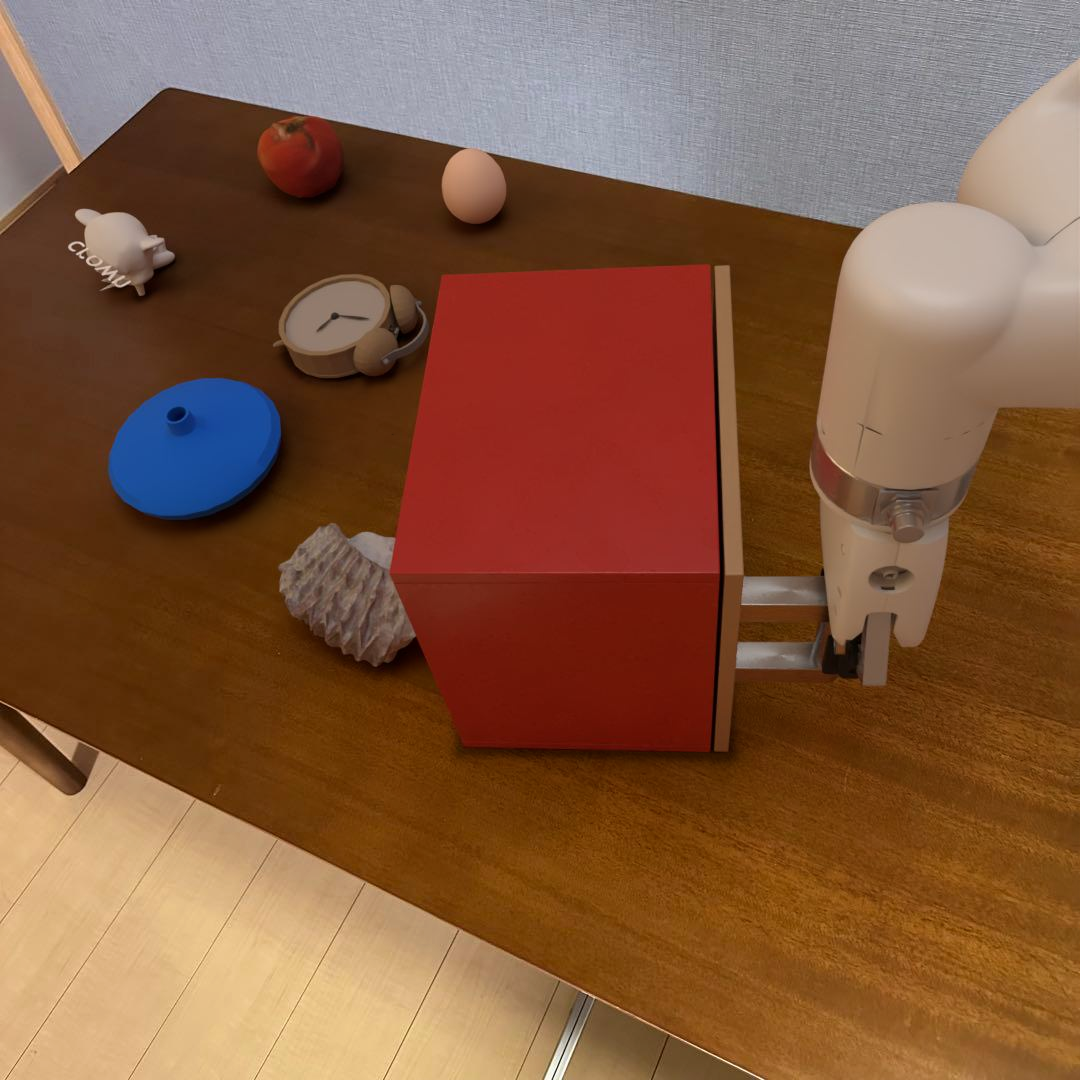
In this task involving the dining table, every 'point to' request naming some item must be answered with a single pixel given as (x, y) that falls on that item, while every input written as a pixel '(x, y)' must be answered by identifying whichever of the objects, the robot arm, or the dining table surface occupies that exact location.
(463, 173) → the egg
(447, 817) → the dining table surface
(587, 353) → the box
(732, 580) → the door
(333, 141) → the tomato
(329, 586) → the seashell
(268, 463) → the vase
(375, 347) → the alarm clock
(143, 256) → the figurine
